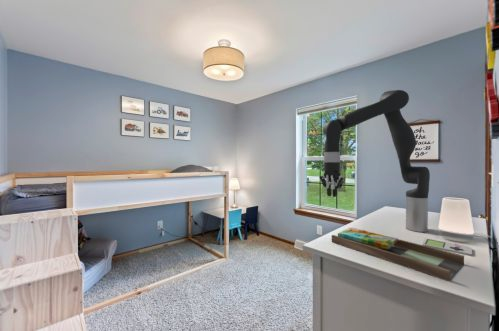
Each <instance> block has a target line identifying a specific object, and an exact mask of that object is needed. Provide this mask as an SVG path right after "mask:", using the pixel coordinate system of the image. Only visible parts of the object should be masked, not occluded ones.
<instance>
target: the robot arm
mask: <svg viewBox="0 0 499 331" xmlns="http://www.w3.org/2000/svg"><path fill="white" fill-rule="evenodd" d="M408 93H409V92H406V91H405V90H403V89H394V90H388V91H387V90H386V91H384V92H383V93H382V94H381V96H380V97H379V101H376V102H375V103H373V104H369V105H365V106H362V107H359V108H357V109H354V110H352V111H349V112H347V113H346V114H344V115H342V116H340V117H338V118H336V119H331V120H329V121H328V122H326V123H325V124H324V125H323V127H322V128H323V129H322V132H323V133H324V135H325V142H324V145H323V146H324V147H323V148H324V150H323V153H324V154H323V171H324V173H323V175H320V176H319V180H320V181H321V184H322V187H323V188H325V189H326V195H327V197H333V198H336V197H337V196H338V189H342V186H343V185H344V183H345V181H346V176H342V175H341V173H340V172H341V154H340V153H341V152H340V148H341V147H340V140H341V134H342V131H346V129H350V128H353V127H355V126H358V125H359V124H362V123H364V122H367V121H368V120H370V119H373V118H376V117H379V116H381V115H384V117H385V120H386V123H387V126H388V130H389V132H390V135H391V136H390V137H391V139H392V142H393V145H394V146H393V147H394V149H395V151H396V156H397V158H398V159H397V160H398V163H399V168H400V173H401V178H402V180H403V182H405V183H406V184H412V185H417V186H416V187H415V188H413V189H409V190H407V191H405V229H407V230H409V231H413V232H418V233H427V232H428V230H429V228H428V226H429V191H430V181H431V180H430V178H431V177H430V176H431V174H430V173H431V172H430V170H429V167H426V166H413V165H411V156H412V154H413V152H414V151H415V148H416V146H417V140H416V136H415V133H414V130H413V128H412V127H411V125H410V124H409V123H408V121H407V120H406V119H405V118H404V117H403V115H402V111H401V110H402V109H403V108H404V107H405V106H407V105H408V103H409V101H410V97H409V94H408Z"/></svg>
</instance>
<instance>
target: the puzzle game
mask: <svg viewBox="0 0 499 331" xmlns="http://www.w3.org/2000/svg"><path fill="white" fill-rule="evenodd" d="M354 228H355V227H348V228H347V229H344V230H342V231H340V232H338V233H337V236H339V237H342V238H345V239H348V240H352V241H355V242H358V243H362V244H365V245H368V246H372V247H375V248H378V249H382V248H384V249H389V248H390V247H391V246H392V245H394V244H395V243H396V242H397V241H398V239H399V238H397V237H393V236H389V235H384V234H381V233H375V232H372V231H368V232H367V230H364V229H360V228H356V229H354ZM359 229H360V230H359Z"/></svg>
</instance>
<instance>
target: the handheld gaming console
mask: <svg viewBox="0 0 499 331" xmlns="http://www.w3.org/2000/svg"><path fill="white" fill-rule="evenodd" d="M421 245H423V246H427V247H431V248H435V249H439V250H443V251H447V252H451V253H455V254H459V255H463V256H469V257H473V248H472V247H470V246H468V245H463V244H459V243H458V244H457V243H453V242H448V241H443V240H442V241H441V240H439V239H438V240H437V239H432V238H426V237H425V238H424V240H423V241H422V243H421Z"/></svg>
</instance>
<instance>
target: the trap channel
mask: <svg viewBox="0 0 499 331" xmlns="http://www.w3.org/2000/svg"><path fill="white" fill-rule="evenodd" d="M353 228H354V229H357V228H355V227H353ZM358 229H359V230H361V229H360V228H358ZM366 231H367V230H366ZM367 232H369V231H367ZM397 239H398V241H397V242H396V243H395V244H394V245H392V246H391V247H390V248H389V249H384V248H382V249H378V248H375V247H372V246H368V245H365V244H362V243H358V242H355V241H352V240H348V239H345V238H342V237H339V236H338V235H335V234H331V242H332V243H333V244H336V245H340V246H342V247H345V248H349V249H352V250H353V251H358V252H361V253H362V254H366V255H369V256H372V257H376V258H379V259H382V260H384V261H388V262H391V263H393V264H397V265H399V266H402V267H405V268H409V269H411V270H414V271H417V272H420V273H423V274H426V275H429V276H432V277H436V278H438V279H440V280H441V279H442V280H444V281H447V282H450V281H451V280H452V279H453V278H454V276H455V275H456V274H457V273H458V272H459V271H460V270H461V268H462V267H463V266H464V265H465V255H463V254H458V253H454V252H449V251H444V250H440V249H435V248H431V247H427V246H423V245H422V244H419V243H415V242H411V241H407V240H402V239H399V238H397Z"/></svg>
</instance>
